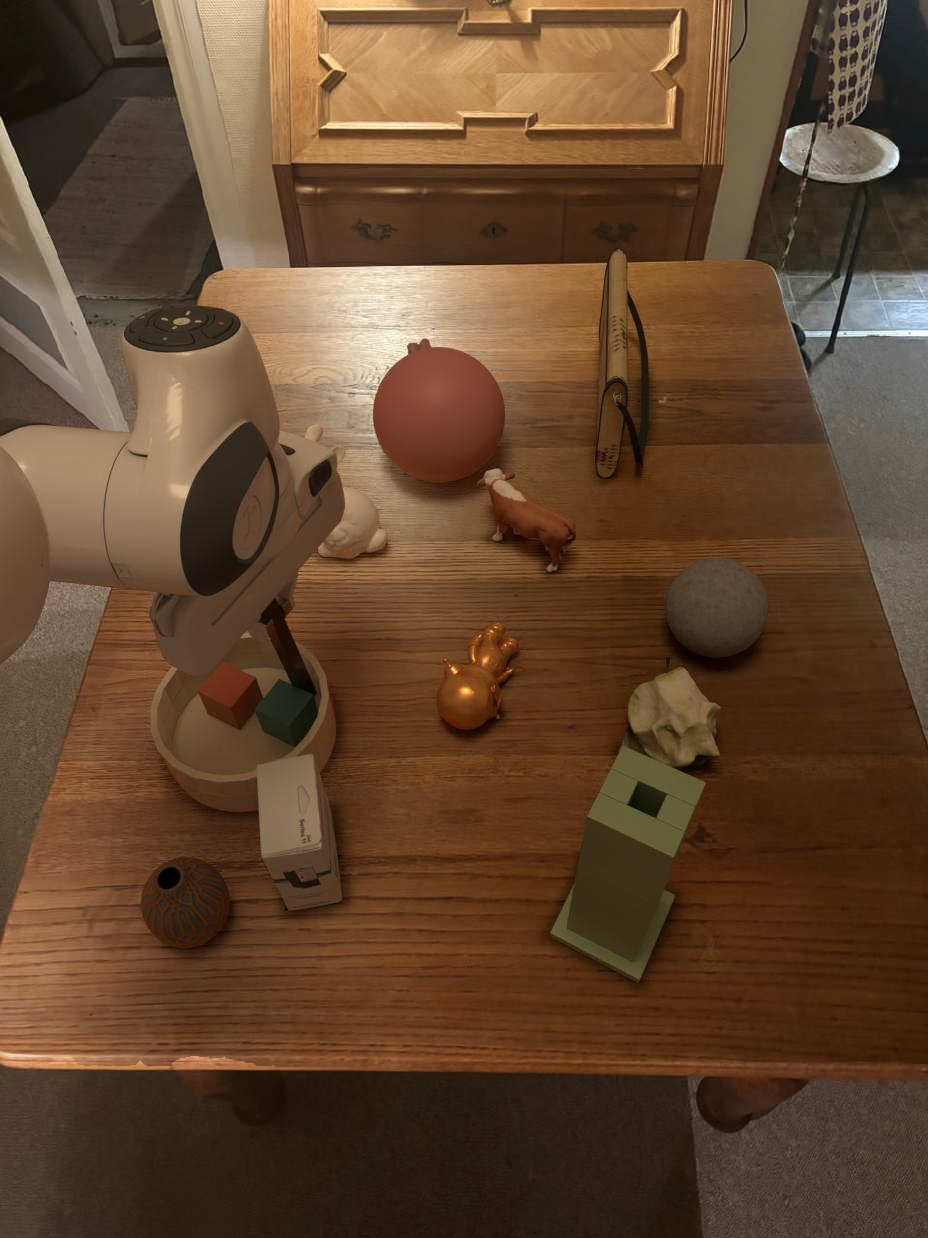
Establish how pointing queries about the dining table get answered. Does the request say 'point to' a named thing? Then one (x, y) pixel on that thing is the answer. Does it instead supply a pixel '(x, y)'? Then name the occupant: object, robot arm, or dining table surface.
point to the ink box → (298, 832)
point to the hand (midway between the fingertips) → (273, 621)
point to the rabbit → (351, 518)
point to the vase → (185, 902)
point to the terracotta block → (231, 695)
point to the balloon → (438, 413)
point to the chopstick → (288, 649)
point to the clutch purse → (618, 369)
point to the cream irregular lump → (672, 721)
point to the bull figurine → (528, 516)
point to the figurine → (476, 680)
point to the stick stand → (628, 863)
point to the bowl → (232, 729)
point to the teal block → (287, 712)
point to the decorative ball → (717, 607)
